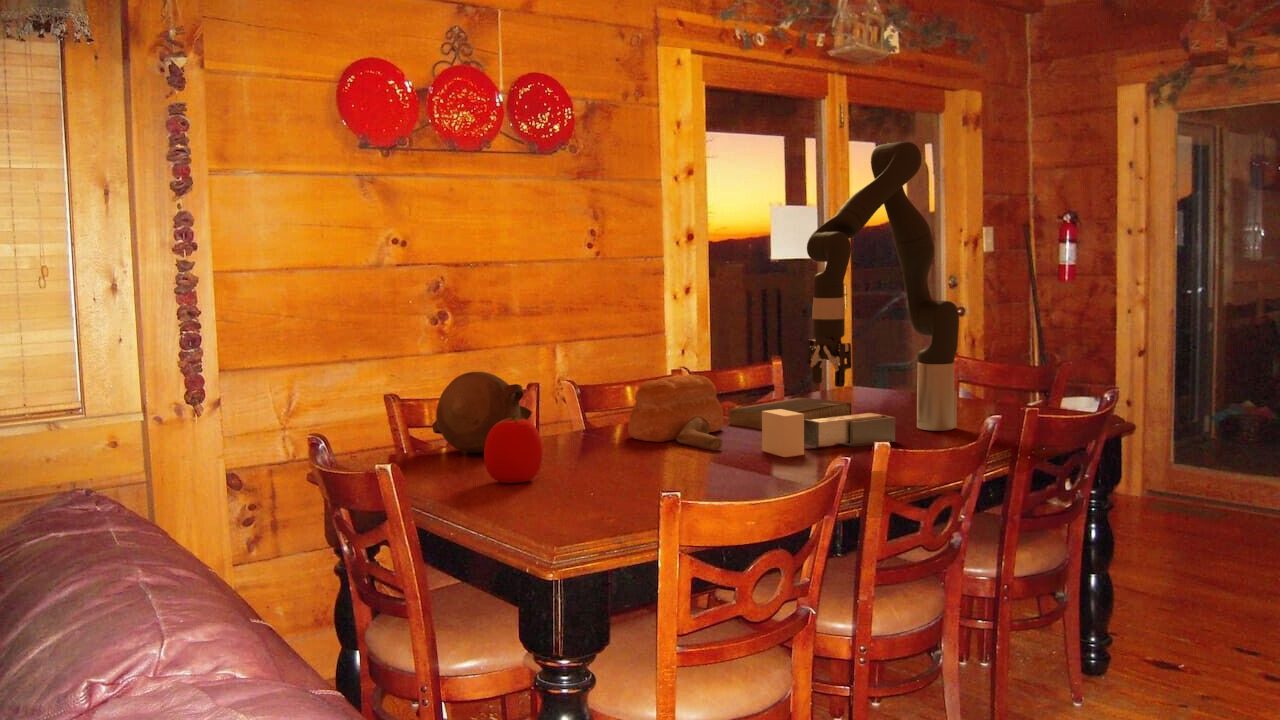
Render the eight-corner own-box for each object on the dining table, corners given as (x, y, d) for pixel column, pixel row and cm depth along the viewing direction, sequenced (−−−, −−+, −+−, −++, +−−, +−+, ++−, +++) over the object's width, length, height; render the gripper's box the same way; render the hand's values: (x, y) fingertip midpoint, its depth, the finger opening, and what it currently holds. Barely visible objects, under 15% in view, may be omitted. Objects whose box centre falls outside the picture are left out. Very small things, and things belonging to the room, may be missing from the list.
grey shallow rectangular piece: (799, 413, 309) (799, 396, 309) (851, 420, 295) (851, 402, 295) (728, 425, 291) (728, 407, 290) (780, 433, 276) (780, 414, 276)
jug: (479, 464, 243) (545, 461, 270) (499, 380, 242) (563, 386, 269) (409, 440, 251) (480, 440, 279) (428, 359, 251) (497, 367, 278)
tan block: (781, 448, 255) (781, 409, 254) (804, 454, 247) (803, 413, 246) (762, 450, 252) (761, 411, 251) (784, 457, 244) (784, 416, 243)
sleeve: (875, 437, 267) (875, 413, 266) (895, 441, 260) (895, 417, 260) (833, 442, 261) (834, 418, 260) (852, 447, 254) (853, 422, 254)
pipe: (709, 433, 251) (740, 421, 257) (664, 424, 264) (694, 413, 270) (713, 459, 252) (743, 446, 258) (667, 449, 265) (697, 437, 271)
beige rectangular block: (869, 435, 264) (869, 412, 264) (882, 438, 260) (882, 414, 259) (803, 443, 255) (803, 419, 254) (816, 447, 251) (815, 422, 250)
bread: (622, 438, 272) (621, 379, 271) (692, 425, 290) (692, 369, 289) (659, 445, 263) (658, 383, 261) (730, 431, 280) (729, 373, 279)
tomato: (493, 490, 216) (490, 421, 215) (478, 479, 227) (476, 413, 225) (552, 483, 221) (550, 416, 220) (535, 473, 232) (533, 408, 230)
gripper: (860, 317, 248) (860, 387, 249) (822, 314, 260) (822, 380, 262) (834, 319, 244) (834, 389, 246) (797, 316, 257) (797, 383, 258)
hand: (828, 384), depth 254 cm, fingers open, 8 cm apart
